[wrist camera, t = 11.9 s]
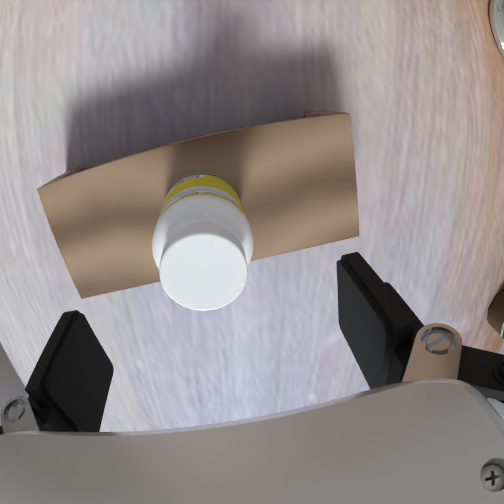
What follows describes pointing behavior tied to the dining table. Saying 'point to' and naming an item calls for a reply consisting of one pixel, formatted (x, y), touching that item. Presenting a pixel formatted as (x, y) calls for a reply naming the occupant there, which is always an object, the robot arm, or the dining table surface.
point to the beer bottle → (497, 313)
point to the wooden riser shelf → (215, 162)
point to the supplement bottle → (202, 242)
